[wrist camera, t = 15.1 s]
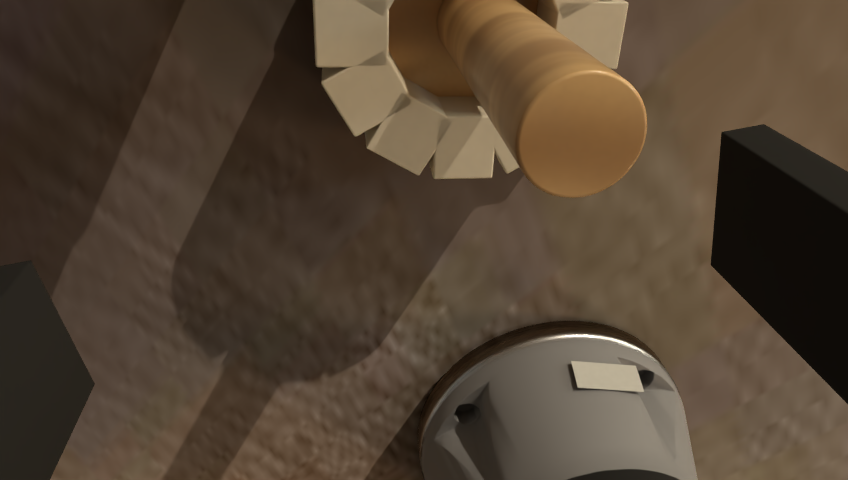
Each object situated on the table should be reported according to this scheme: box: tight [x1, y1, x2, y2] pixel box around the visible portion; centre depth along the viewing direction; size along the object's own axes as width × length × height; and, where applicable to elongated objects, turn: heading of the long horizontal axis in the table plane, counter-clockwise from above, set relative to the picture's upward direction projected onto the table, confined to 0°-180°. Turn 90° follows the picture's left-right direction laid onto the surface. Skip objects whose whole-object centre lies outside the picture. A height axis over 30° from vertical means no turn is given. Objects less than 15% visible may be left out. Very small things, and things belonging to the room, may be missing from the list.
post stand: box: [389, 0, 647, 198], centre depth 21 cm, size 9×9×14 cm
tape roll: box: [313, 0, 628, 179], centre depth 25 cm, size 11×11×3 cm
